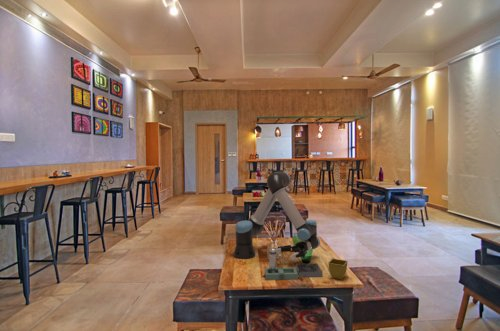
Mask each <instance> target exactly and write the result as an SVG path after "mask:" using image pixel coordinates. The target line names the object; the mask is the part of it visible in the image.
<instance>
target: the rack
mask: <svg viewBox="0 0 500 331" xmlns="http://www.w3.org/2000/svg"><path fill="white" fill-rule="evenodd" d="M264 277H265V280H266V281H273V280H274V281H277V280H283V281H284V280H298V279H299V275H298V272H297V270H296V266H294V267H291V266H290V267H276V273H270V270H269V267H265V268H264Z"/></svg>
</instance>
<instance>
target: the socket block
mask: <svg viewBox="0 0 500 331" xmlns="http://www.w3.org/2000/svg"><path fill="white" fill-rule="evenodd" d="M295 269H296V271H297V273H298V278H323V270H322V269H321V267H320V266H319V265H318V263H295Z"/></svg>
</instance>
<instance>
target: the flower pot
mask: <svg viewBox="0 0 500 331" xmlns="http://www.w3.org/2000/svg"><path fill="white" fill-rule="evenodd" d="M327 265H328V271H329V274H330V276H331V278H333V279H336V280H342V279H343V278H344V277H345V275H346V273H347V269H348V260H344V259H337V258H331V259H330V260H329V262H328V263H327Z"/></svg>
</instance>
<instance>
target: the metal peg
mask: <svg viewBox="0 0 500 331" xmlns="http://www.w3.org/2000/svg"><path fill="white" fill-rule="evenodd" d="M276 249H277V248H275V247H269V248H268V260H269V262H268V263H269V267H268V268H269V270H270V273H276V268H277V254H276Z"/></svg>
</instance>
